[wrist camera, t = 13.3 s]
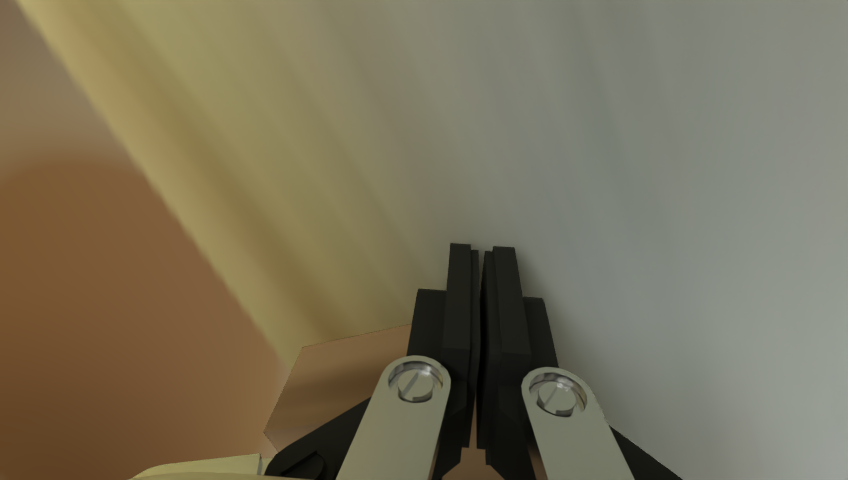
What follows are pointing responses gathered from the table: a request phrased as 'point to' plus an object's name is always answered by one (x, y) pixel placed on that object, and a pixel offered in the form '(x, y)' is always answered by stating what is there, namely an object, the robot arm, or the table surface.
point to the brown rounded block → (351, 392)
